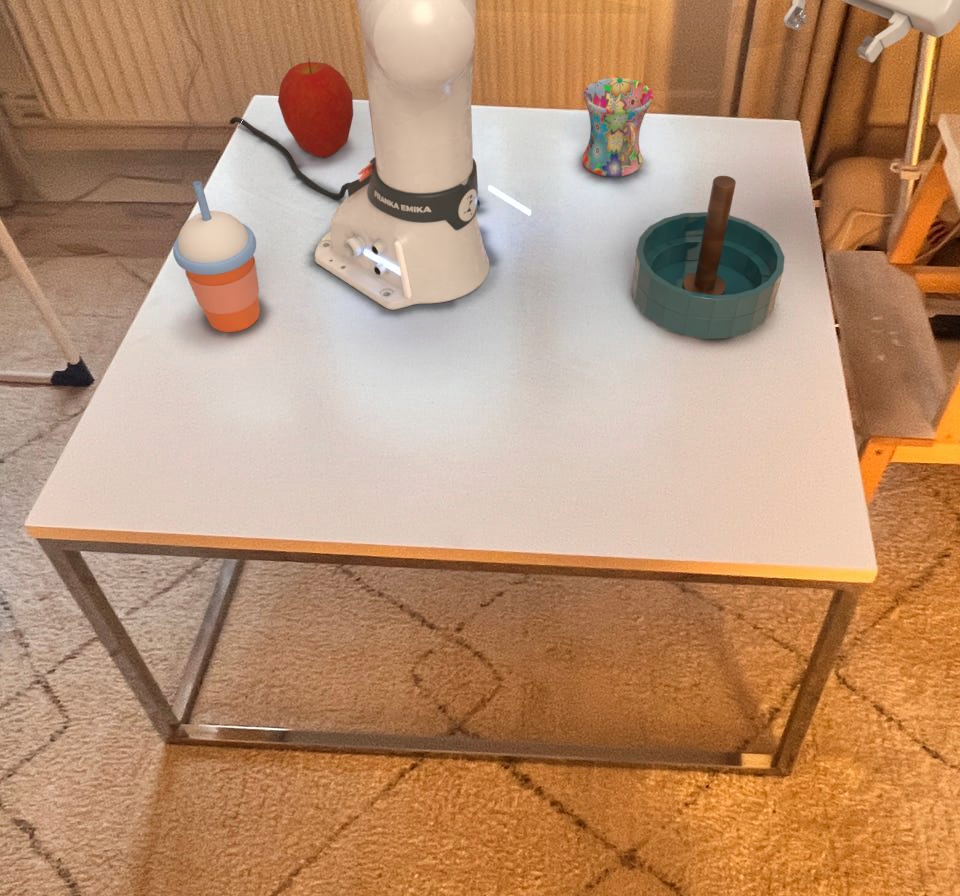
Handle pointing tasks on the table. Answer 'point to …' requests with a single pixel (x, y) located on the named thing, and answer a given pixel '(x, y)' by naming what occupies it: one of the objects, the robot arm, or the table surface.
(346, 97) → the apple
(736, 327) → the bowl
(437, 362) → the table surface
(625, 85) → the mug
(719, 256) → the wooden peg stand
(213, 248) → the cup with straw
